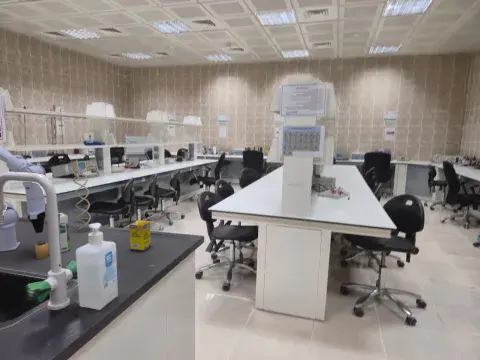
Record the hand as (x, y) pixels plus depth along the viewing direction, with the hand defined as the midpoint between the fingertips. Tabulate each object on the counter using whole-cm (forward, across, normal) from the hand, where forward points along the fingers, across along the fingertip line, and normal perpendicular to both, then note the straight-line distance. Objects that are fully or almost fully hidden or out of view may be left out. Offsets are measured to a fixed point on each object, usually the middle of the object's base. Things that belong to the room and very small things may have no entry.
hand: (39, 232), depth 120 cm
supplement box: (+9, -10, -36) cm, 38 cm away
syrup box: (+9, 0, -6) cm, 10 cm away
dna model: (+9, +22, -14) cm, 28 cm away
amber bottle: (+8, -4, -1) cm, 9 cm away
